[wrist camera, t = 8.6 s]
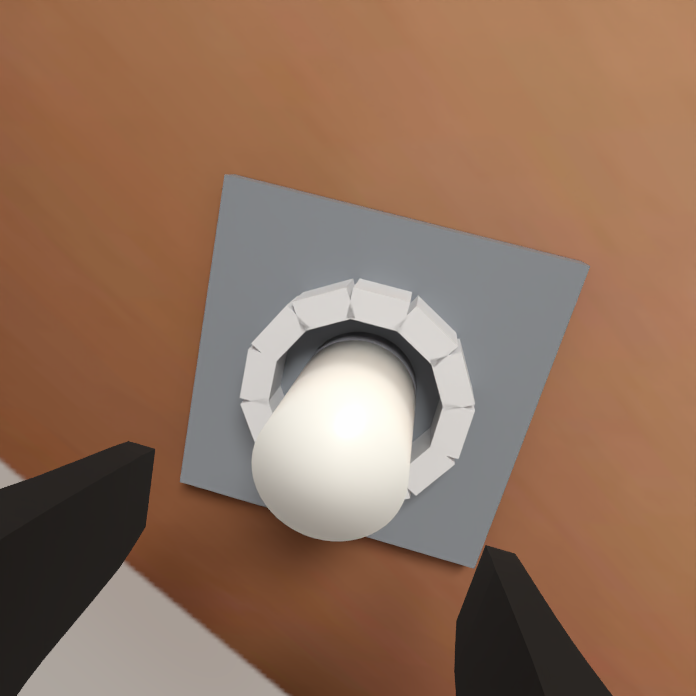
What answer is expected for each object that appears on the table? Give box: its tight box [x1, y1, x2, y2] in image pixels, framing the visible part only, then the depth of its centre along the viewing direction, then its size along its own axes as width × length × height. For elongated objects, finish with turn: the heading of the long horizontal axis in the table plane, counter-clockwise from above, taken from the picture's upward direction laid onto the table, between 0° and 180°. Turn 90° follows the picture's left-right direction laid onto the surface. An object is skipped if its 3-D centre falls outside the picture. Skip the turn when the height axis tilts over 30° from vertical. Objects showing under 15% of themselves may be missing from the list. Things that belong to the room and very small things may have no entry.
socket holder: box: [180, 175, 590, 568], centre depth 19 cm, size 12×12×2 cm
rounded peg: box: [251, 332, 417, 541], centre depth 16 cm, size 4×4×6 cm
